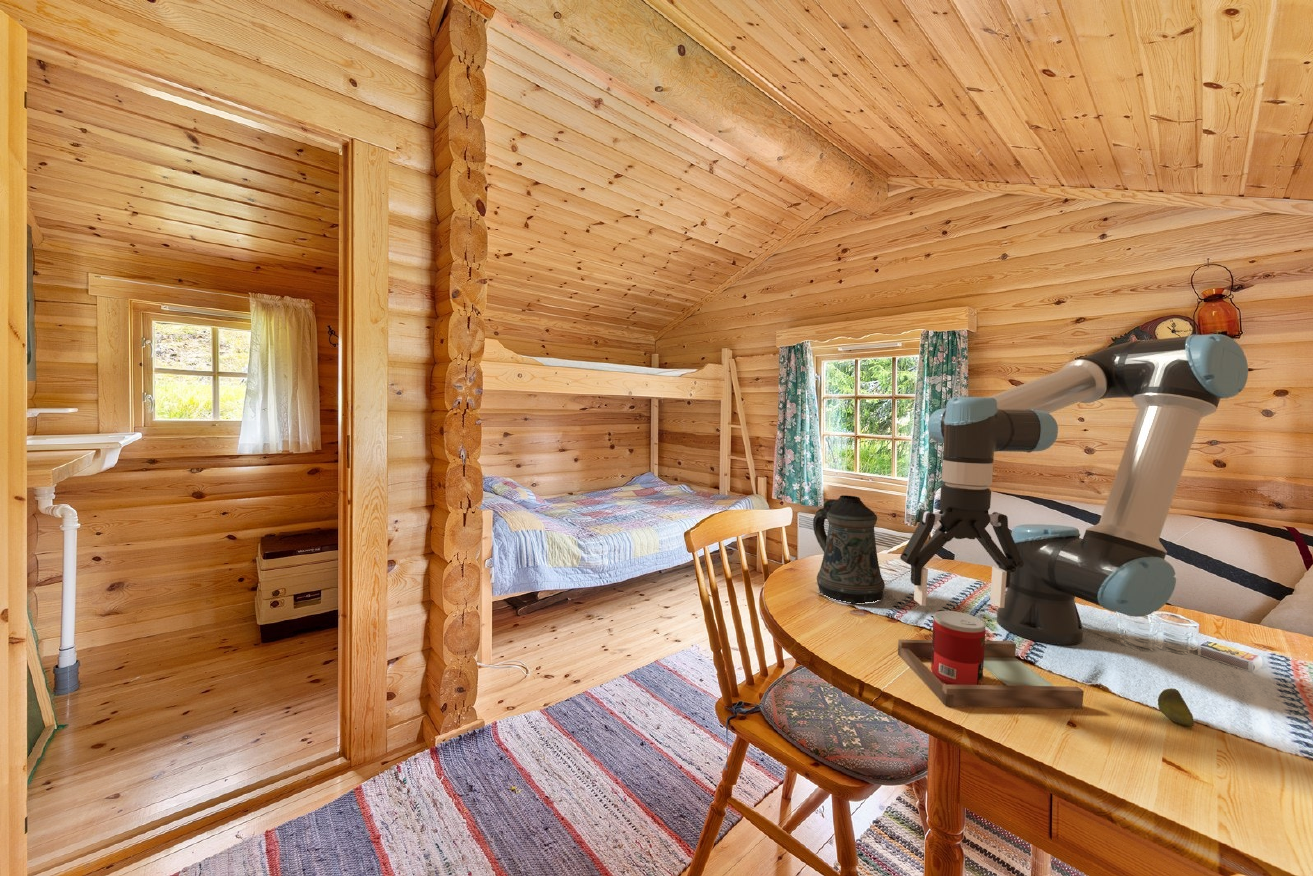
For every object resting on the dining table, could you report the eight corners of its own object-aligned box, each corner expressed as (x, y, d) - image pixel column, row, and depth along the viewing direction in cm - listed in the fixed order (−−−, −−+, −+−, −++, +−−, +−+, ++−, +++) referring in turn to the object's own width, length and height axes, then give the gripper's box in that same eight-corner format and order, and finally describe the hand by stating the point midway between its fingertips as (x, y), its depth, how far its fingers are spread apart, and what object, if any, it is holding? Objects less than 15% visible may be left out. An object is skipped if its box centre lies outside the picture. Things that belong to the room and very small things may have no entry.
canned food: (990, 693, 86) (993, 630, 85) (939, 687, 88) (942, 626, 87) (971, 670, 94) (974, 612, 93) (925, 665, 95) (927, 608, 94)
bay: (1010, 655, 99) (1011, 641, 99) (1082, 708, 82) (1083, 690, 82) (897, 654, 99) (898, 639, 99) (945, 706, 82) (946, 688, 82)
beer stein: (877, 610, 120) (882, 507, 118) (797, 593, 130) (799, 498, 129) (889, 589, 134) (892, 496, 132) (815, 575, 144) (817, 488, 143)
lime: (1169, 711, 81) (1172, 681, 81) (1206, 730, 77) (1209, 698, 76) (1147, 713, 81) (1149, 683, 80) (1183, 733, 76) (1185, 701, 76)
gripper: (1022, 483, 92) (1014, 597, 93) (884, 480, 92) (878, 593, 94) (1054, 490, 84) (1045, 614, 86) (904, 487, 85) (897, 610, 86)
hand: (958, 604), depth 90 cm, fingers open, 13 cm apart
